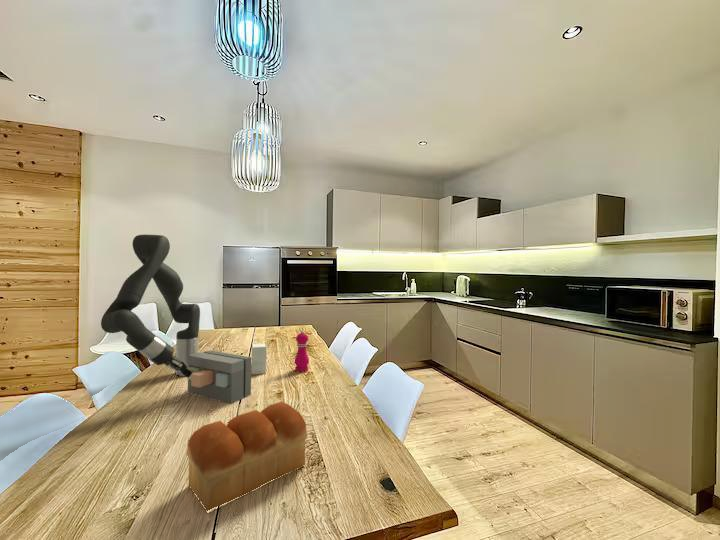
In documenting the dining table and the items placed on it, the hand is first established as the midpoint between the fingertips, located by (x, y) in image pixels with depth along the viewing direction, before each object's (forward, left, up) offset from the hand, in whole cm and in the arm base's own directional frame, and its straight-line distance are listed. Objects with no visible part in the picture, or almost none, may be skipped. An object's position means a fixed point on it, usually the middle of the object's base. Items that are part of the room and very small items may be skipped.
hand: (189, 374), depth 128 cm
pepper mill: (+19, +48, -9) cm, 53 cm away
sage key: (0, +5, -2) cm, 5 cm away
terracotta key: (+8, 0, -2) cm, 8 cm away
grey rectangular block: (+16, +5, -2) cm, 17 cm away
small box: (+2, +36, -9) cm, 37 cm away
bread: (+57, -26, -9) cm, 64 cm away
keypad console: (+8, +7, -8) cm, 14 cm away
